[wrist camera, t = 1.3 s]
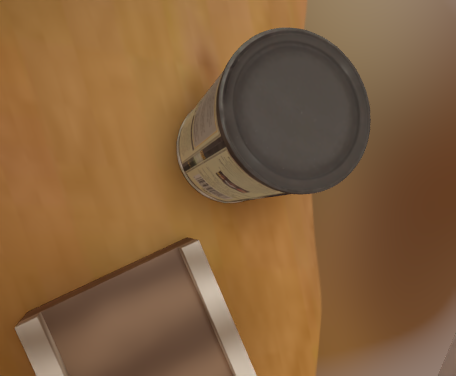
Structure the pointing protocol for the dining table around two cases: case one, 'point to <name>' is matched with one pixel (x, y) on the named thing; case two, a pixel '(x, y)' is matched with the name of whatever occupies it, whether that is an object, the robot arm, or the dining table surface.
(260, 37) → the coffee can
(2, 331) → the dining table surface
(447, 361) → the robot arm
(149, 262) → the plinth
